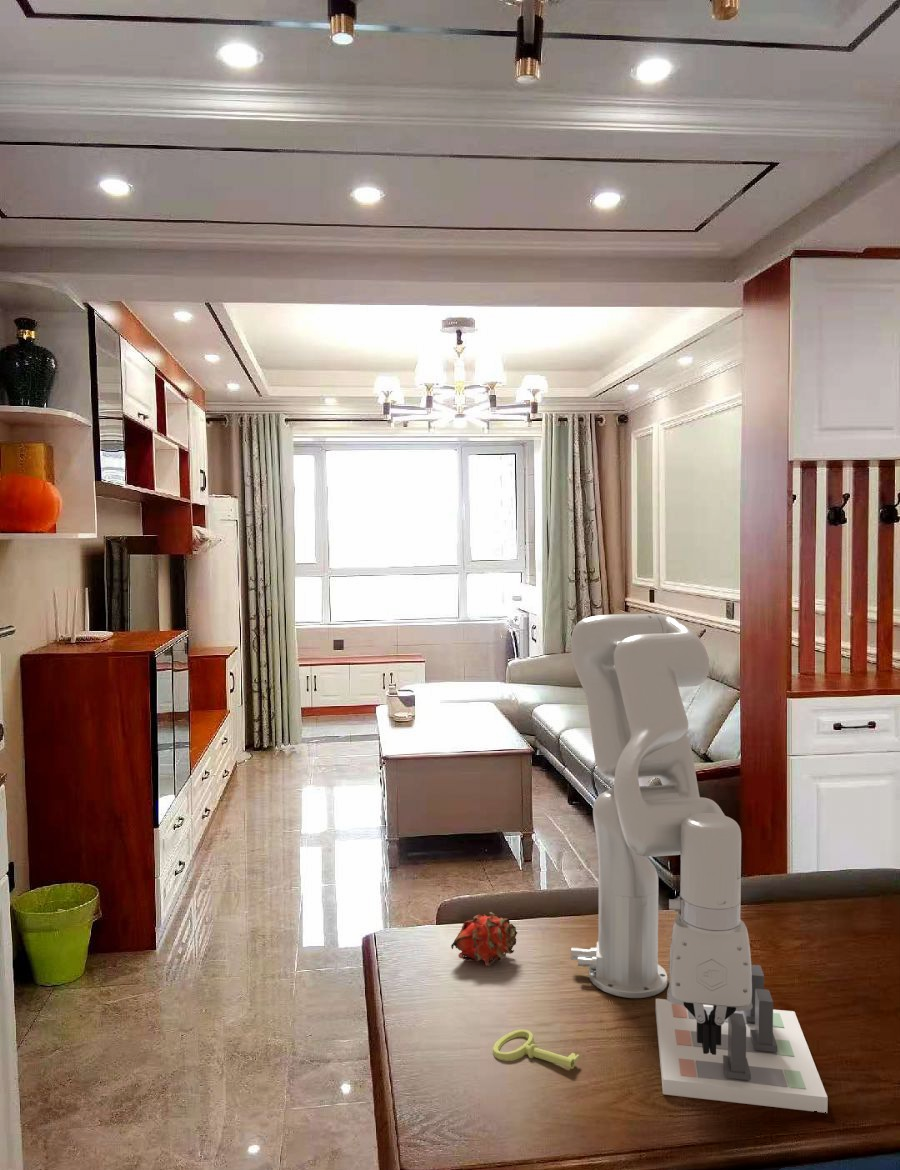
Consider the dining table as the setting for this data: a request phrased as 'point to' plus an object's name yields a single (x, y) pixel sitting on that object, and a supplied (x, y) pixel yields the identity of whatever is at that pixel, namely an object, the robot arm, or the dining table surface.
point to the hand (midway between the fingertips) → (708, 1048)
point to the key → (531, 1050)
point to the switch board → (773, 1074)
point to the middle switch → (763, 1022)
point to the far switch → (756, 984)
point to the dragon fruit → (485, 939)
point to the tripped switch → (736, 1049)
